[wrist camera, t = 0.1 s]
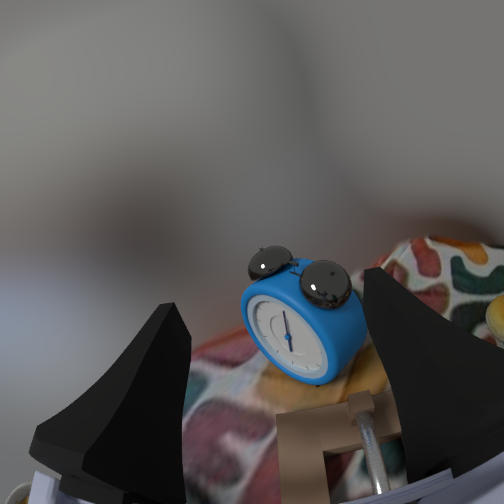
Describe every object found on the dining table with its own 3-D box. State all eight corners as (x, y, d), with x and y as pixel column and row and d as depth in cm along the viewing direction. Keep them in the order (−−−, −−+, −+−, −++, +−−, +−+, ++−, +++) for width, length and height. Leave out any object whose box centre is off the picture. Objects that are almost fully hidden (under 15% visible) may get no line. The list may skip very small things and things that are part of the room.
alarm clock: (251, 355, 37) (223, 255, 30) (283, 328, 40) (265, 230, 33) (335, 404, 28) (335, 298, 21) (365, 367, 31) (373, 258, 24)
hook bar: (398, 539, 11) (403, 538, 10) (381, 545, 11) (384, 544, 10) (366, 408, 23) (368, 400, 23) (352, 411, 23) (353, 404, 23)
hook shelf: (468, 527, 10) (493, 517, 8) (287, 579, 11) (281, 584, 9) (420, 390, 26) (430, 362, 24) (278, 422, 27) (271, 399, 25)
